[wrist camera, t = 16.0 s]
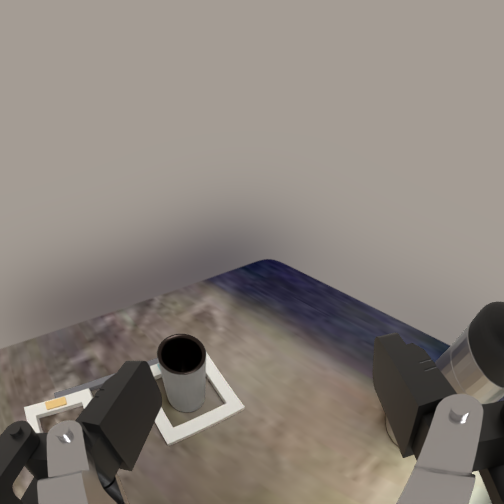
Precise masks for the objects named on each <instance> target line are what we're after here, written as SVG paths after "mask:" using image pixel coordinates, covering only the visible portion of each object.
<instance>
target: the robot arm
mask: <svg viewBox="0 0 504 504" xmlns="http://www.w3.org/2000/svg"><path fill="white" fill-rule="evenodd" d="M373 383H374V387H375V390H376V393H377V395H378V397H379V400H380V402H381V404H382V407H383V409H384V412H385V414H386V428H387V431H388V434H389V436H390V438H391V439H392V440H393V442H394V443H395V444H397V445H398V446H399V449H400V452H401V454H402V457H403V458H405V457H408V456H411V455H415V458H416V460H417V462H416V464H415V467H414V469H413V471H412V473H411V475H410V478H409V480H408V482H407V484H406V486H405V488H404V490H403V492H402V494H401V496H400V498H399V500H398V501H397V503H396V504H468V503H469V500H470V497H471V494H472V491H473V487H474V483H475V475H474V474H472V472H473V471H478V470H479V473H480V475H481V477H482V480H483V482H484V484H485V487H486V489H487V492H488V494H489V497H490V499H491V502H492V504H504V401H499V402H497V401H498V400H499V399H501V398H502V397H503V396H504V302H492V303H490V304H488V305H486V306H485V307H484V308H483V309H482V310H481V311H480V312H479V313H478V314H477V316H476V317H475V318H474V319H473V321H472V322H471V323H470V324H469V326H468V327H467V328H466V329H465V330H464V332H463V333H462V334H461V335H460V336H459V337H458V338H457V340H456V341H455V342H454V343H453V344H452V345H451V346H450V347H449V348H448V349H447V351H446V352H445V353H444V354H443V355H442V356H441V357H440V358H439V359H438V360H437V361H436V362H435V363H434V362H433V360H431V358H430V357H429V355H428V354H427V353H426V352H425V350H424V349H422V348H420V347H419V346H417V345H415V344H413V343H411V344H407V345H406V344H405V342H404V341H403V340H402V338H401V337H400V336H399V334H398V333H392V334H388V335H383V336H379V337H376V338H375V341H374V359H373ZM161 405H162V396H161V393H160V390H159V388H158V385H157V383H156V381H155V378H154V376H153V373H152V371H151V368H150V366H149V364H148V363H147V362H146V361H126V362H125V363H124V364H123V366H122V367H121V368H120V369H119V371H118V372H117V373H116V374H114V375H113V376H111V377H110V378H109V379H107V380H106V381H105V382H104V384H103V385H102V386H101V388H100V391H97V393H96V394H95V395H94V398H92V399H91V401H90V402H89V403H88V405H87V406H86V407H85V409H84V410H83V411H82V413H81V414H80V415H79V417H78V418H77V419H76V421H71V420H68V421H63V422H60V423H58V424H56V425H55V426H53V427H52V428H51V429H50V431H49V432H48V433H36V432H35V431H34V429H33V428H32V427H31V425H30V424H29V423H28V422H26V421H17V422H14V423H12V424H11V425H9V426H8V427H7V428H6V430H5V431H4V432H3V433H2V434H1V436H0V504H129V502H128V499H127V497H126V494H125V491H124V489H123V486H122V483H121V480H120V478H119V476H118V475H117V474H116V473H117V471H118V469H119V468H120V469H124V470H129V471H132V469H133V467H134V465H135V463H136V461H137V458H138V456H139V454H140V452H141V450H142V447H143V445H144V443H145V441H146V439H147V437H148V435H149V432H150V430H151V428H152V426H153V424H154V422H155V419H156V417H157V415H158V413H159V411H160V409H161ZM24 466H25V467H26V468H27V469H28V470H29V472H30V473H31V474H32V475H33V476H34V478H33V480H32V482H31V483H30V485H29V487H28V488H27V490H26V492H25V493H24V495H23V497H22V498H21V500H20V499H19V498H17V497H16V496H15V494H14V492H13V489H12V485H13V483H14V481H15V479H16V478H17V476H18V475H19V473H20V472H21V470H22V469H23V467H24Z"/></svg>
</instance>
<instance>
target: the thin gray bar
mask: <svg viewBox="0 0 504 504" xmlns="http://www.w3.org/2000/svg"><path fill="white" fill-rule="evenodd" d="M147 363H148V364H149V366H152V365H155V364H157V363H158V358H155V359H153V360H150V361H147ZM114 374H116V373H114ZM114 374H112V375H109V376H106V377H103V378H100V379H97V380H94V381H91V382H88V383H85V384H82V385H79V386H76V387H73V388H69V389H66V390H63V391H60V392H56V393H54V395H55V399H56V398H59V397H62V396H66V395H69V394H72V393H75V392H78V391H81V390H85V389H88V388H89V389H90V391H92V390H95V389H98V388H101V386H102V385H103V384H104V382H105V381H106V380H107V379H109V378H110V377H111V376H113V375H114Z"/></svg>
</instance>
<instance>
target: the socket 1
mask: <svg viewBox="0 0 504 504" xmlns="http://www.w3.org/2000/svg"><path fill="white" fill-rule="evenodd" d="M92 398H93V395H92V393H91V391H90V389H89V388H88V389H85V390H81V391H78V392H75V393H72V394H69V395H66V396H62V397H59V398H56V399H52V400H49V401H45V402H42V403H38V404H35V405H31V406H27V407H24V409H25V413H26V418H27V422H28V423H29V424H30V425H31V427H32V428H33V429H34V431H35V432H36V433H43V430H42V427H41V423H40V420H39V418H42V417H46V416H49V415H53V414H57V413H60V412H63V411H67V410H70V409H73V408H77V407H80V406H83V407H84V409H85V407H86V406H87V405H88V403H89V402H90V401H91V399H92Z"/></svg>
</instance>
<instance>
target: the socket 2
mask: <svg viewBox="0 0 504 504" xmlns="http://www.w3.org/2000/svg"><path fill="white" fill-rule="evenodd" d="M150 368H151V371H152V373H153V376H154V378H155V380H156V379H158V378H161V377H162V375H161V371H160V367H159V363H157V364H155V365H152V366H150ZM206 377H207V378H208V380H209V381H210V383H211V384H212V386H213V387H214V389H215V390H216V392H217V393H218V395H219V396H220V398H221V399H222V401H223V402H224V403H225V404H224V405H222V406H220V407H218V408H216V409H214V410H212V411H209V412H207V413H205V414H203V415H201V416H199V417H197V418H195V419H192V420H190V421H188V422H186V423H183V424H181V425H179V426H176V427H174V428H173V427H172V425H171V424H170V422H169V420H168V418H167V417H166V415H165V413H164V411H163V409H162V407H161V409H160V411H159V413H158V415H157V417H156V419H155V423H156V425H157V426H158V428H159V430H160V432H161V434H162V435H163V437H164V439H165V441H166V442H167V444H168V446H170V445H172V444H174V443H177V442H179V441H181V440H184V439H186V438H188V437H190V436H193V435H195V434H197V433H199V432H201V431H203V430H205V429H207V428H210V427H212V426H214V425H216V424H218V423H220V422H222V421H224V420H226V419H228V418H229V417H231V416H233V415H235V414H237V413H239V412H241V411H243V410H244V408H245V407H244V405H243V404H242V403H241V401H240V400H239V399H238V397H237V396H236V394H235V393H234V392H233V390H232V389H231V387H230V386H229V385H228V383H227V382H226V380H225V379H224V378H223V376H222V375H221V373H220V372H219V370H218V369H217V367H216V366H215V364H214V363H213V361H212V360H211V358H210V357H209V355H208V354H207V352H206Z"/></svg>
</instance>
